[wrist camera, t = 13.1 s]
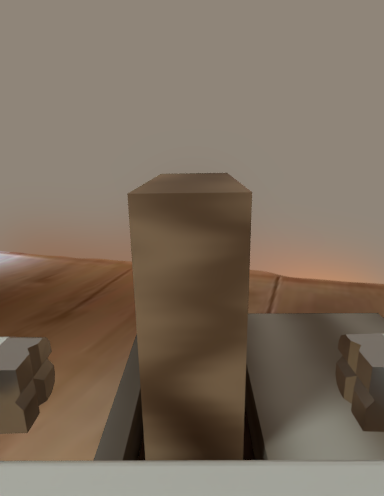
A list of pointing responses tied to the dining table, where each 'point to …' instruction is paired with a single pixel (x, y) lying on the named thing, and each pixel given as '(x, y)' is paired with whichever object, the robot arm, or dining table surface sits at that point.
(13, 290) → the dining table surface
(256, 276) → the dining table surface
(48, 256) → the dining table surface
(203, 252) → the walnut plank
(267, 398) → the partly open shallow box
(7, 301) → the dining table surface
